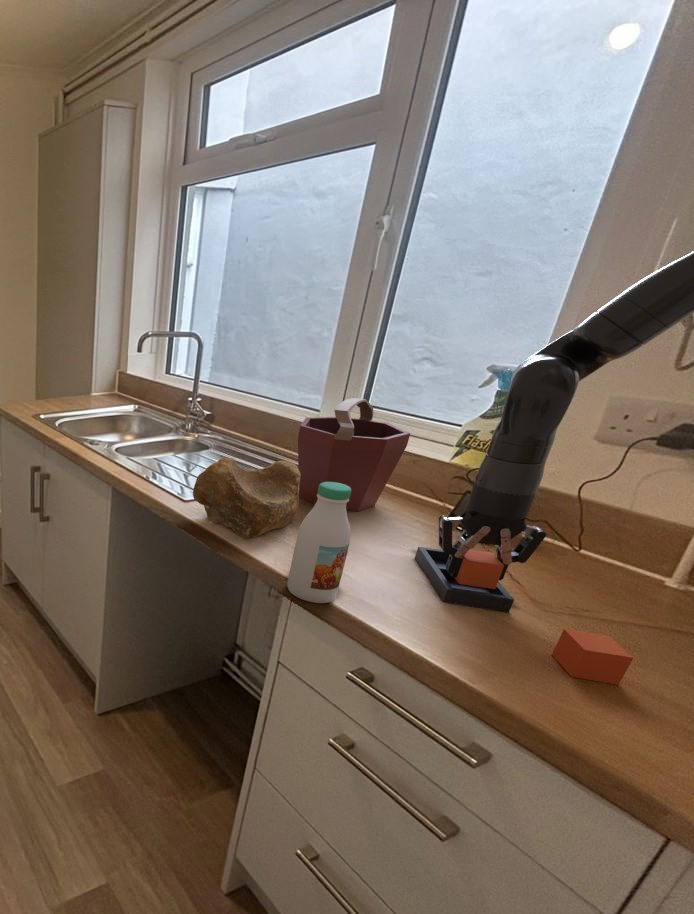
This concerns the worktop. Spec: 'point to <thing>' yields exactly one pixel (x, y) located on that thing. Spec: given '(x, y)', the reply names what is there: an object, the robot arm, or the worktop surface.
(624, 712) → the worktop surface
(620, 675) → the orange block
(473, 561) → the orange square block
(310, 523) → the milk bottle
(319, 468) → the bucket
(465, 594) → the frame
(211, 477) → the rough brown rock
